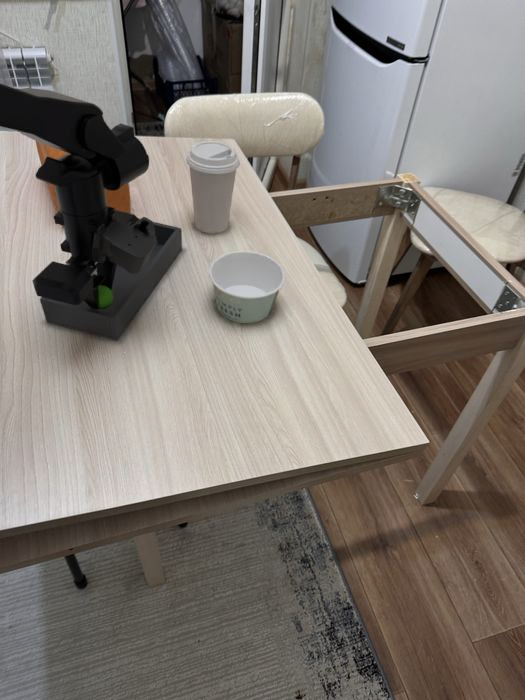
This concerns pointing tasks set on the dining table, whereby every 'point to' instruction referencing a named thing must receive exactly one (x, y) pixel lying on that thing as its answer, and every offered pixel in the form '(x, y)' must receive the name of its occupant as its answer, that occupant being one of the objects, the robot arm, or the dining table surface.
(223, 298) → the food container
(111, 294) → the pea
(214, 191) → the coffee cup
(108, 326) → the tray
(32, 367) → the dining table surface
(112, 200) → the bread
